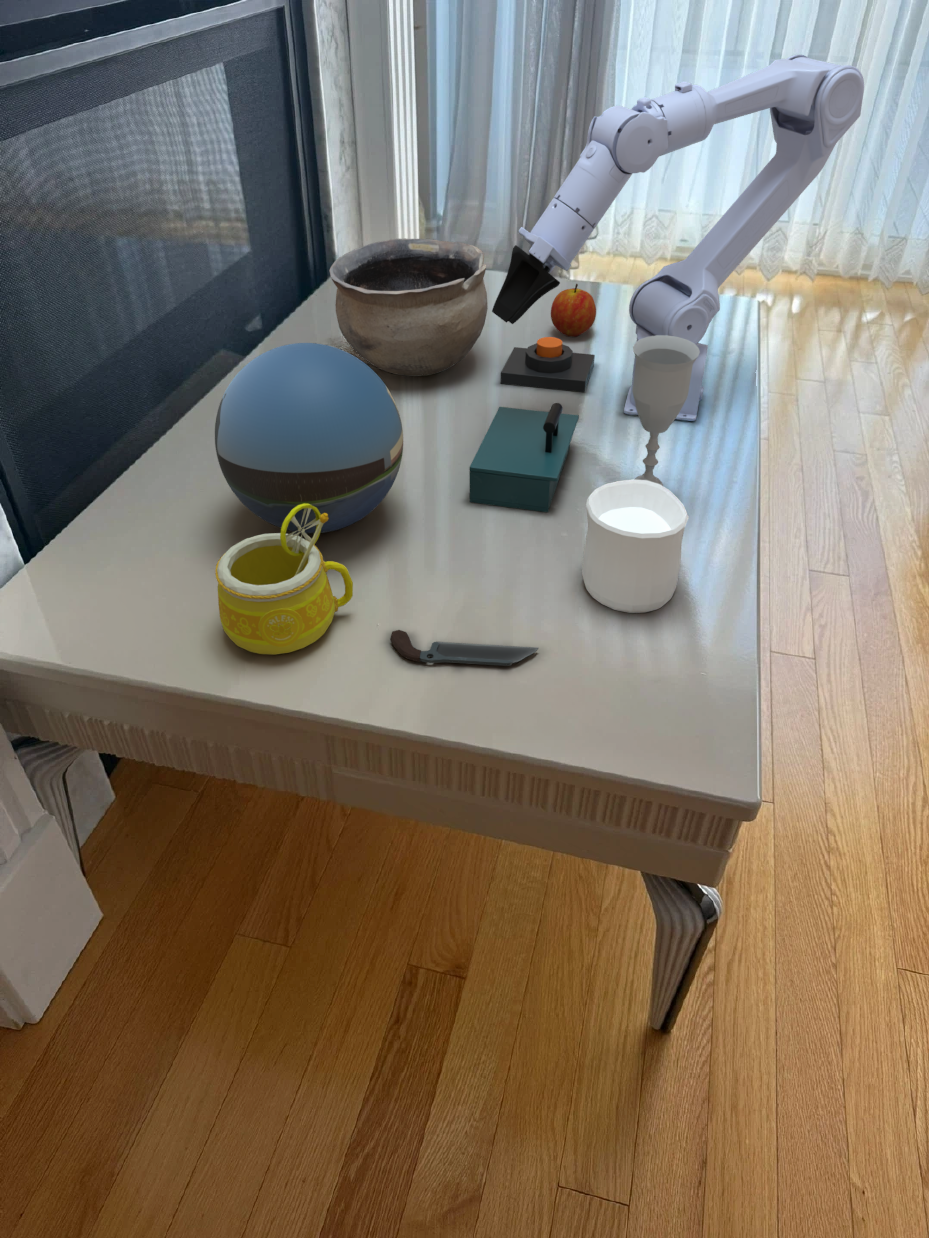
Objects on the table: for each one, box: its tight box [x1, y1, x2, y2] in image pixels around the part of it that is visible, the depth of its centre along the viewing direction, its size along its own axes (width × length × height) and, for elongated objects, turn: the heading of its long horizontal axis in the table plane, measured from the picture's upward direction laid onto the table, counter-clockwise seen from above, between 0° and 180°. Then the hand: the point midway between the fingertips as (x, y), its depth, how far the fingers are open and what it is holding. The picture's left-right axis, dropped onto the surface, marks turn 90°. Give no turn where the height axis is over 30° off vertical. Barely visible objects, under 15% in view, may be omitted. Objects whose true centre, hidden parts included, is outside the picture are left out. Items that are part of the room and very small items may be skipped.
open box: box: [468, 444, 571, 513], centre depth 107 cm, size 9×15×4 cm, turn 165°
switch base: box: [500, 342, 596, 393], centre depth 129 cm, size 12×9×4 cm
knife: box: [389, 629, 540, 667], centre depth 84 cm, size 14×4×1 cm, turn 84°
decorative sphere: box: [214, 342, 404, 534], centre depth 95 cm, size 20×20×20 cm
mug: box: [214, 503, 354, 655], centre depth 84 cm, size 13×11×12 cm
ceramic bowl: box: [329, 237, 488, 377], centre depth 128 cm, size 22×22×15 cm
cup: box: [581, 478, 690, 614], centre depth 89 cm, size 10×10×10 cm
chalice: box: [632, 335, 700, 487], centre depth 98 cm, size 7×7×18 cm
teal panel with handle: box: [468, 402, 580, 482], centre depth 105 cm, size 10×15×4 cm, turn 165°
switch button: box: [536, 336, 563, 358], centre depth 127 cm, size 4×4×2 cm
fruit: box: [550, 283, 597, 338], centre depth 138 cm, size 7×7×8 cm
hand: (502, 318), depth 105 cm, fingers open, 7 cm apart
